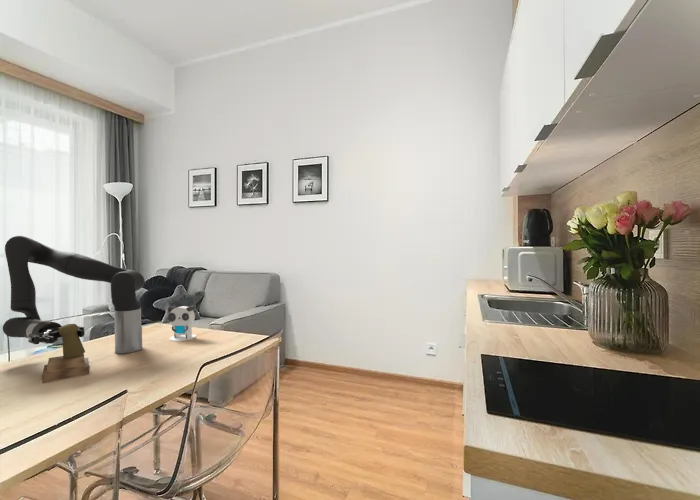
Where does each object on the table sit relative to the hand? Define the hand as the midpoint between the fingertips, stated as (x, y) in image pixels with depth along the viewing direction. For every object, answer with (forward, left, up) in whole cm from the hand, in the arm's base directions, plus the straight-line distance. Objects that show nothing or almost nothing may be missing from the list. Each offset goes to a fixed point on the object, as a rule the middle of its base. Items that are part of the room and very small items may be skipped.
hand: (68, 337), depth 115 cm
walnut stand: (+1, -1, -13) cm, 13 cm away
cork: (-1, -3, -7) cm, 8 cm away
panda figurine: (-41, -23, -13) cm, 49 cm away
